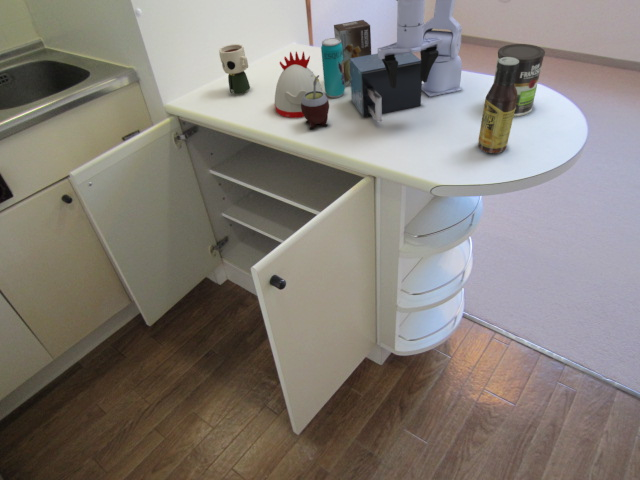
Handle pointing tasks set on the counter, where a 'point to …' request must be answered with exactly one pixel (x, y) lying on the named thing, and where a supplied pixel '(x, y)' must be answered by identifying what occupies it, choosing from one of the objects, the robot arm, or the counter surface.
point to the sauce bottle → (499, 108)
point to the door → (391, 90)
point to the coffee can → (524, 73)
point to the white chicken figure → (294, 86)
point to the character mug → (235, 67)
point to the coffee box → (353, 43)
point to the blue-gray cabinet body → (371, 64)
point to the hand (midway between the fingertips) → (408, 83)
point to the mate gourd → (315, 107)
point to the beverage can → (333, 67)
